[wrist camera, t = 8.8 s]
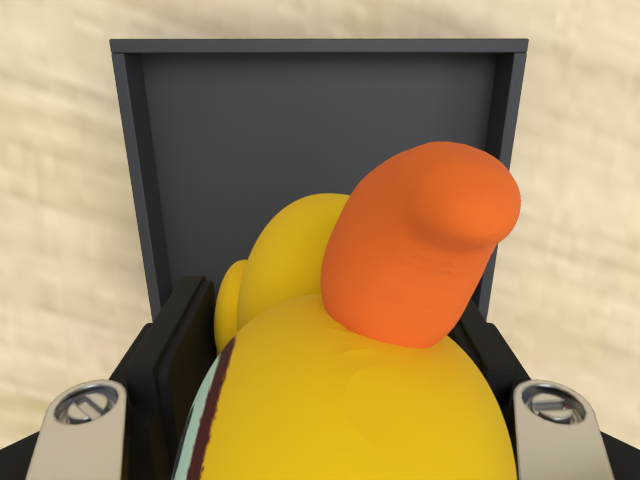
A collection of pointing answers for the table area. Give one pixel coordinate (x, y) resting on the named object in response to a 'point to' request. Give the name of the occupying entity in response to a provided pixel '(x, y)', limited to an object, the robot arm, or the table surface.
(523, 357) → the table surface
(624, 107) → the table surface
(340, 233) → the duckling
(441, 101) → the pan
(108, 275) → the table surface
